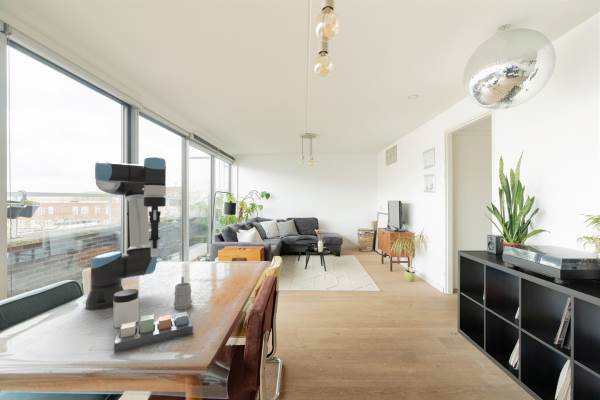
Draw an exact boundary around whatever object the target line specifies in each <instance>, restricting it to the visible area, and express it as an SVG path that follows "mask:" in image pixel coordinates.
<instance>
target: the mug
mask: <svg viewBox="0 0 600 400" xmlns="http://www.w3.org/2000/svg"><path fill="white" fill-rule="evenodd" d="M180 277H181V279H180V281H181V282H180V283H177V284H176V285H175V287H174V289H175V290H174V292H173V294H174V302H173V306H174V309H175V310H184V309H188V308H191V307H192V303H193V300H192V289H191V287H192V286H191V283H190V282H185V276H180Z"/></svg>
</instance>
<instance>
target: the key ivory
mask: <svg viewBox="0 0 600 400" xmlns="http://www.w3.org/2000/svg"><path fill="white" fill-rule="evenodd" d="M136 325H137V322H131V323H125V324H122V326H121V327H120V328H121V338H122V337H127V336H132V335H136Z"/></svg>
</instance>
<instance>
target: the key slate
mask: <svg viewBox="0 0 600 400" xmlns="http://www.w3.org/2000/svg"><path fill="white" fill-rule="evenodd" d="M174 315H175V316H174V317H175V326H178V325H182V324H187V323H188V315H189V314H188V311H183V312H178V313H175V314H174Z"/></svg>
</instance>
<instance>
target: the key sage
mask: <svg viewBox="0 0 600 400" xmlns="http://www.w3.org/2000/svg"><path fill="white" fill-rule="evenodd" d="M154 321H155V314H148V315H143V316H140V319H139V324H140V334H141V333H145V332H150V331H154Z"/></svg>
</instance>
